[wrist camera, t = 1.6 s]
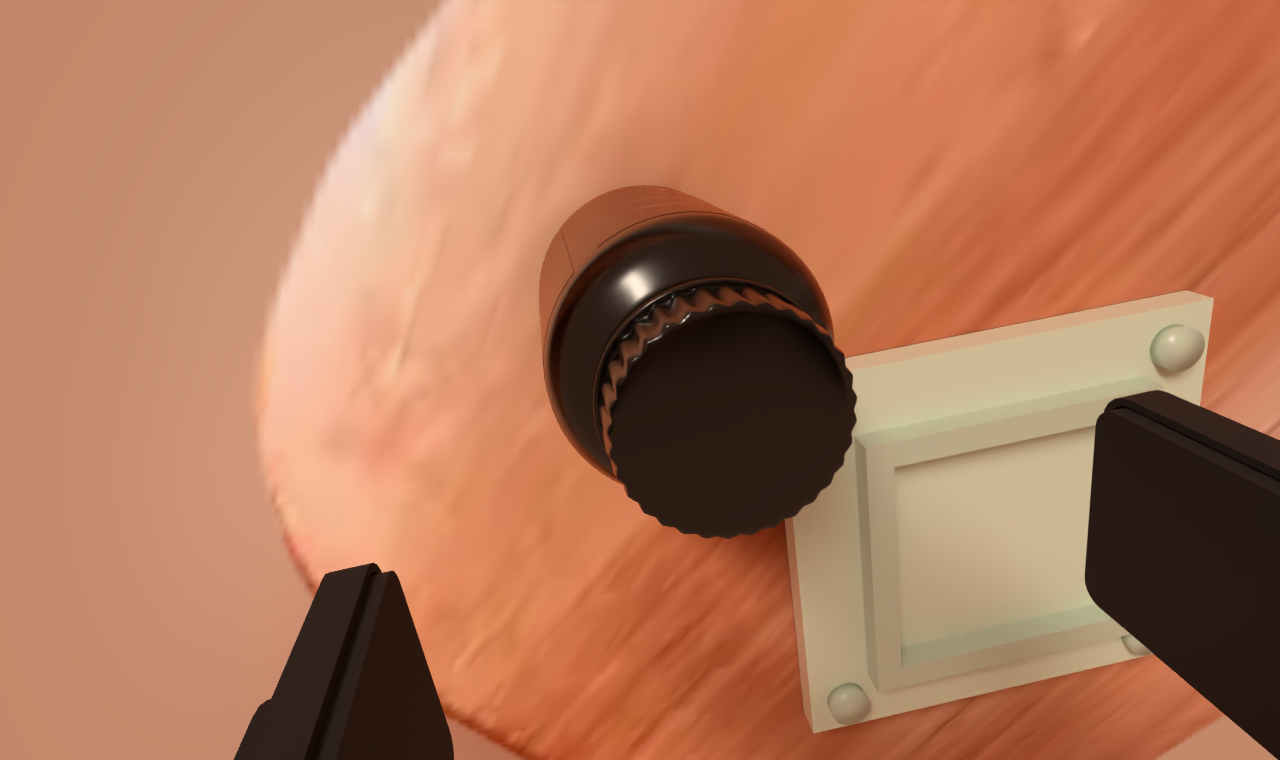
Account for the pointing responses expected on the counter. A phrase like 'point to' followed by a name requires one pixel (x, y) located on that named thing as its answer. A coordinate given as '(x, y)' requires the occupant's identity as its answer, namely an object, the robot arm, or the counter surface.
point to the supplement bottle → (693, 361)
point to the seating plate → (974, 510)
